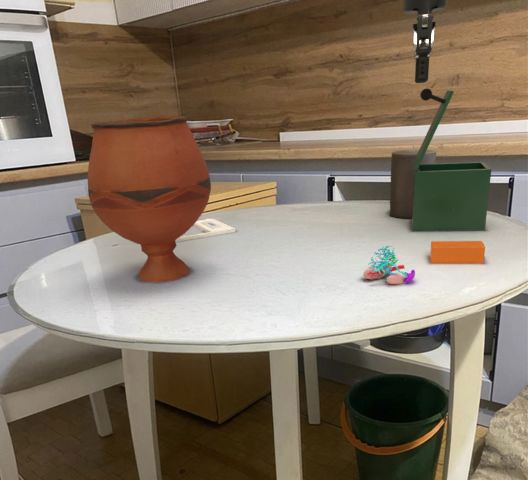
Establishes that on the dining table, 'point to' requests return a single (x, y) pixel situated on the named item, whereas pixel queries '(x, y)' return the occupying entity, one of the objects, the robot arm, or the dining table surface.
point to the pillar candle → (405, 180)
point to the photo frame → (208, 229)
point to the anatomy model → (388, 269)
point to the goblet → (149, 187)
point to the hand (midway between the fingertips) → (421, 82)
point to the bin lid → (427, 95)
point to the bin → (450, 197)
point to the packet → (457, 252)
